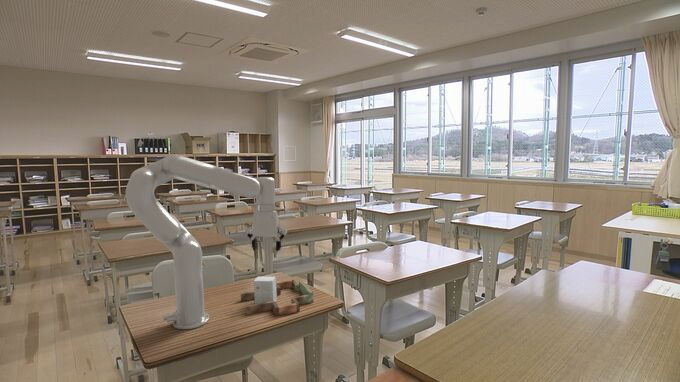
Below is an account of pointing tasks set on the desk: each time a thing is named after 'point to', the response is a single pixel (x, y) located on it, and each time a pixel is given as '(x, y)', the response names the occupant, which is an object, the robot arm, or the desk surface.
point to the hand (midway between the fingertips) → (266, 249)
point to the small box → (265, 289)
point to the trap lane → (279, 285)
